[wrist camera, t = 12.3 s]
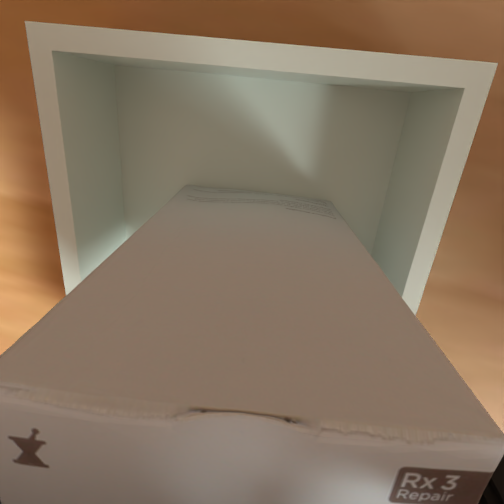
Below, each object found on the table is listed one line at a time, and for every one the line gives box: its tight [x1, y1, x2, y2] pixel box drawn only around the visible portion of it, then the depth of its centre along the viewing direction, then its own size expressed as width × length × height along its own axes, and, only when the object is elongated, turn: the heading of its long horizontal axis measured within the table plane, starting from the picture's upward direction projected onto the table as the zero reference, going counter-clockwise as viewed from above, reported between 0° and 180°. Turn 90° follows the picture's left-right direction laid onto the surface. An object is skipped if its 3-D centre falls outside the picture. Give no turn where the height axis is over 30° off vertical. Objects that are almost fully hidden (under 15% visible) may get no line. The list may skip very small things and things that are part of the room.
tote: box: [25, 21, 498, 316], centre depth 18 cm, size 16×18×6 cm
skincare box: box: [0, 185, 504, 504], centre depth 13 cm, size 8×6×15 cm
